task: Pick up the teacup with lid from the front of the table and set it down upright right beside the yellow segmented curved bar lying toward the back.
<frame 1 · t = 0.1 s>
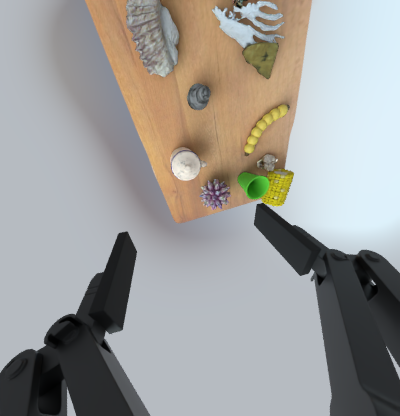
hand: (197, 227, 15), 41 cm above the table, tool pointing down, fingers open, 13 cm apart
ornament: (265, 164, 59), point 1 cm above the table
toy figure: (243, 3, 32), point 4 cm above the table, touching decorative object
grey carved upright piece: (195, 99, 43), on the table
food: (264, 188, 60), point 4 cm above the table
decorative object: (249, 37, 39), on the table, touching stone, toy figure
teacup with lid: (186, 159, 51), on the table
yellow segmented curved bar: (258, 125, 51), on the table
stone: (254, 65, 42), on the table, touching decorative object
flower: (210, 188, 59), on the table
grey ridged fossil rock: (156, 42, 35), on the table
cup: (242, 177, 60), on the table
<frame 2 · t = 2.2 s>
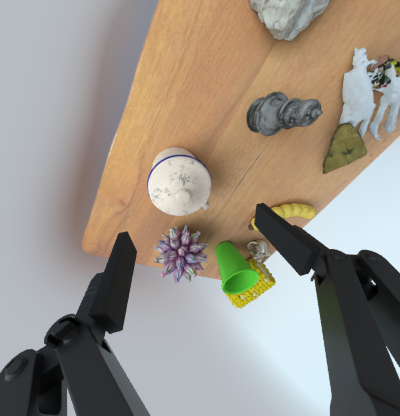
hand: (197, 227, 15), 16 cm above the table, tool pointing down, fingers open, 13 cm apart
ornament: (254, 249, 45), point 1 cm above the table
toy figure: (388, 79, 23), point 4 cm above the table, touching decorative object
grey carved upright piece: (259, 115, 26), on the table
food: (236, 276, 43), point 4 cm above the table
decorative object: (346, 120, 30), on the table, touching stone, toy figure
teacup with lid: (181, 175, 28), on the table
yellow segmented curved bar: (280, 207, 39), on the table
stone: (324, 149, 33), on the table, touching decorative object
flower: (179, 234, 36), on the table
cup: (223, 247, 42), on the table
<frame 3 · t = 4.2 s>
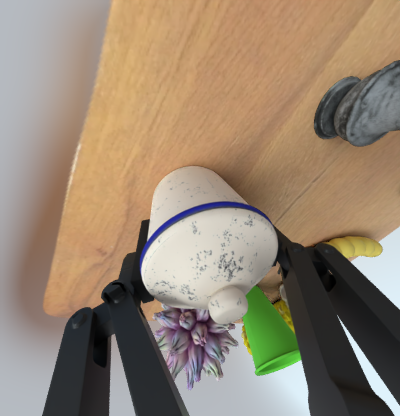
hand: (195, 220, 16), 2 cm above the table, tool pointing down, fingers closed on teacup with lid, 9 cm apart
ornament: (286, 290, 34), point 1 cm above the table
grey carved upright piece: (335, 110, 15), on the table
food: (263, 328, 32), point 4 cm above the table
teacup with lid: (199, 208, 18), on the table, touching gripper
yellow segmented curved bar: (330, 241, 28), on the table
flower: (189, 283, 25), on the table
cup: (247, 290, 31), on the table
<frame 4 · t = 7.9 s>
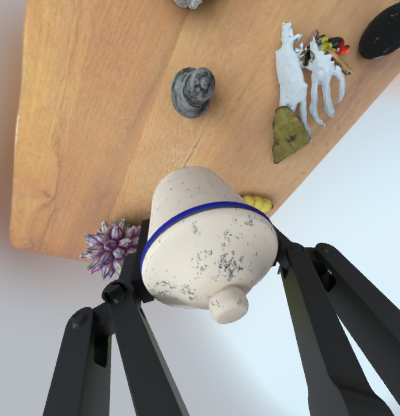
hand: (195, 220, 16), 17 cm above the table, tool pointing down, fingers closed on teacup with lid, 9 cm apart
toy figure: (317, 55, 22), point 4 cm above the table, touching decorative object
grey carved upright piece: (187, 98, 24), on the table
decorative object: (289, 105, 28), on the table, touching stone, toy figure
teacup with lid: (199, 208, 18), point 15 cm above the table, touching gripper
yellow segmented curved bar: (235, 200, 37), on the table
stone: (273, 137, 31), on the table, touching decorative object
flower: (123, 229, 34), on the table
billiard ball: (363, 41, 26), on the table
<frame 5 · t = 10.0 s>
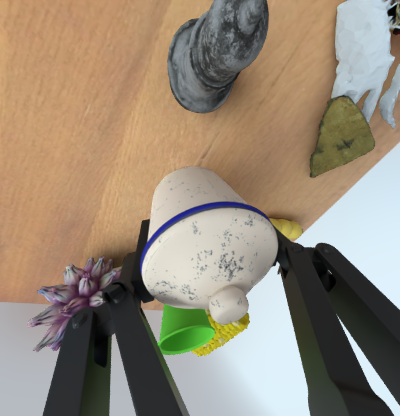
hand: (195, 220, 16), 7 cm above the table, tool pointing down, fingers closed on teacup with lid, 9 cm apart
grey carved upright piece: (194, 81, 15), on the table
food: (198, 313, 32), point 4 cm above the table
decorative object: (342, 96, 19), on the table, touching stone, toy figure
teacup with lid: (199, 208, 18), point 5 cm above the table, touching gripper
yellow segmented curved bar: (253, 223, 28), on the table
stone: (311, 142, 23), on the table, touching decorative object
flower: (105, 265, 25), on the table
cup: (179, 275, 31), on the table
when the fingers open (2 cm above the table, at t = 11.6 s): teacup with lid stays where it is, on the table.
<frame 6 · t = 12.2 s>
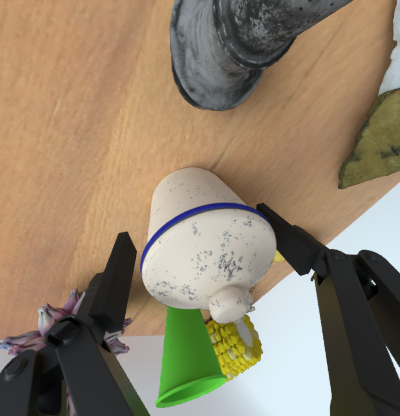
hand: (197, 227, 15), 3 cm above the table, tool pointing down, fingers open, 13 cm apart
ornament: (231, 298, 30), point 1 cm above the table
grey carved upright piece: (205, 68, 11), on the table
food: (203, 341, 28), point 4 cm above the table
decorative object: (387, 90, 15), on the table, touching stone, toy figure
teacup with lid: (198, 209, 18), on the table
stone: (342, 147, 19), on the table, touching decorative object
flower: (93, 294, 21), on the table
cup: (181, 299, 27), on the table
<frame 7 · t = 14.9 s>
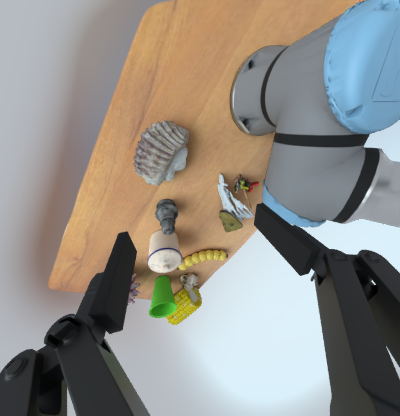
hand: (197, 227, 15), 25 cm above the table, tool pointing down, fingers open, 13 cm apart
ornament: (187, 279, 59), point 1 cm above the table
toy figure: (238, 192, 39), point 4 cm above the table, touching decorative object
grey carved upright piece: (166, 207, 41), on the table
food: (172, 300, 58), point 4 cm above the table
decorative object: (231, 203, 46), on the table, touching stone, toy figure
teacup with lid: (167, 240, 47), on the table
yellow segmented curved bar: (201, 252, 54), on the table
stone: (223, 217, 49), on the table, touching decorative object
flower: (123, 274, 50), on the table
grey ridged fossil rock: (163, 152, 34), on the table
cup: (162, 279, 56), on the table
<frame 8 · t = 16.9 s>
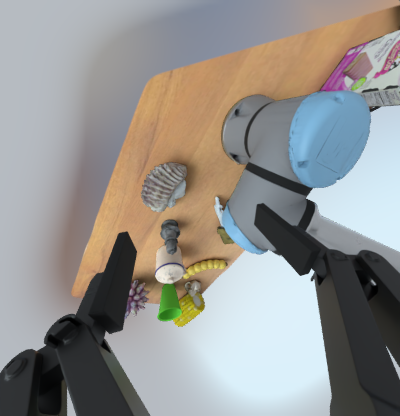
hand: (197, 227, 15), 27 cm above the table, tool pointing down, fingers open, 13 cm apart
ornament: (191, 285, 65), point 1 cm above the table
grey carved upright piece: (169, 225, 47), on the table
food: (178, 305, 64), point 4 cm above the table
decorative object: (227, 219, 51), on the table, touching stone, toy figure
teacup with lid: (171, 253, 53), on the table
yellow segmented curved bar: (202, 261, 59), on the table
stone: (222, 231, 54), on the table, touching decorative object
flower: (134, 282, 56), on the table
grey ridged fossil rock: (165, 183, 39), on the table
candy bar box: (332, 82, 36), on the table
cup: (168, 286, 63), on the table
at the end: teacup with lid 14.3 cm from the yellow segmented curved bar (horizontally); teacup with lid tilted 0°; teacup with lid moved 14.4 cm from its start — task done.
